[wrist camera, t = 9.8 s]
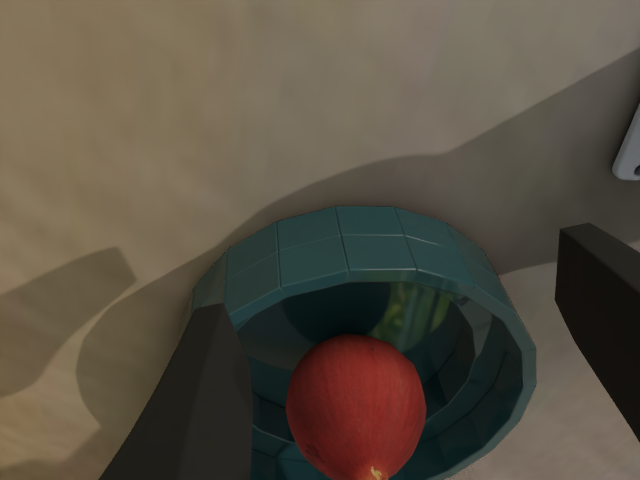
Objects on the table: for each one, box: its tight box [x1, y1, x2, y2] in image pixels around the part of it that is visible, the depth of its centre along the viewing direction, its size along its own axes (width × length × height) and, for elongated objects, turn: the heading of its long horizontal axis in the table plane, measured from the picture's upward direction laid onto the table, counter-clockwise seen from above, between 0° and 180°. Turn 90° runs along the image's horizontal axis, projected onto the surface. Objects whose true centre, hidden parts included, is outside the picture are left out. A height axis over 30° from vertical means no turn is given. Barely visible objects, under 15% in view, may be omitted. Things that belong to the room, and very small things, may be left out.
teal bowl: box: [177, 206, 537, 480], centre depth 26 cm, size 15×15×4 cm
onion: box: [286, 333, 427, 480], centre depth 24 cm, size 6×6×8 cm
